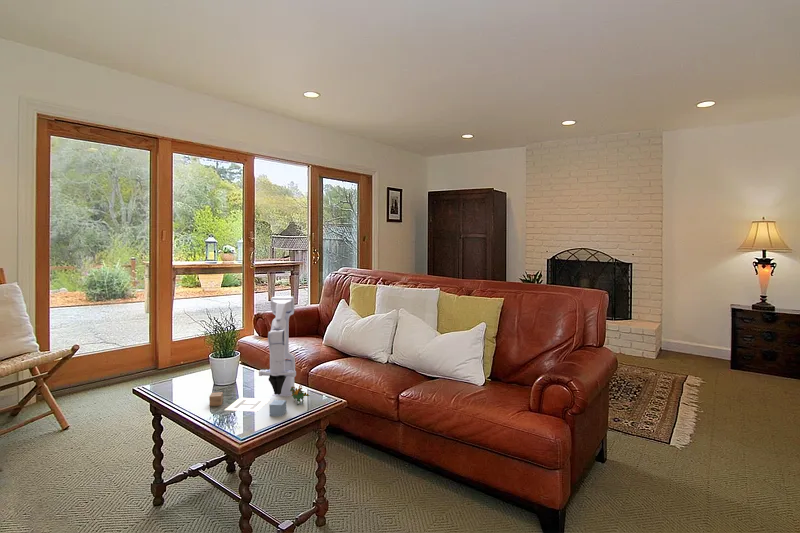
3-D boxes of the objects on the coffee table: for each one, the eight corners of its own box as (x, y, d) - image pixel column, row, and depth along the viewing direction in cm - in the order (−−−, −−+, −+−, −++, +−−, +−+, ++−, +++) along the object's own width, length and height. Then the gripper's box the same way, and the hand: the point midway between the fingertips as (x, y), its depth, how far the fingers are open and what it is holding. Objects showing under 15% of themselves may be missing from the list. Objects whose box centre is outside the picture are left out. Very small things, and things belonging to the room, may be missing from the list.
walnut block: (212, 403, 188) (211, 392, 188) (223, 402, 189) (222, 392, 189) (209, 407, 184) (209, 396, 184) (221, 406, 185) (220, 395, 185)
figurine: (293, 399, 193) (292, 381, 192) (312, 405, 186) (312, 386, 185) (287, 401, 190) (287, 383, 190) (307, 408, 183) (307, 388, 183)
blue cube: (274, 412, 179) (274, 399, 179) (286, 412, 179) (286, 400, 178) (269, 417, 174) (269, 404, 174) (281, 417, 174) (281, 405, 173)
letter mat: (239, 398, 194) (239, 397, 194) (270, 399, 192) (270, 398, 192) (224, 411, 180) (224, 410, 180) (257, 412, 178) (257, 411, 178)
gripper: (255, 362, 172) (255, 396, 173) (291, 363, 170) (292, 398, 171) (262, 357, 179) (263, 390, 180) (297, 358, 177) (298, 391, 178)
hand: (277, 393), depth 176 cm, fingers closed
